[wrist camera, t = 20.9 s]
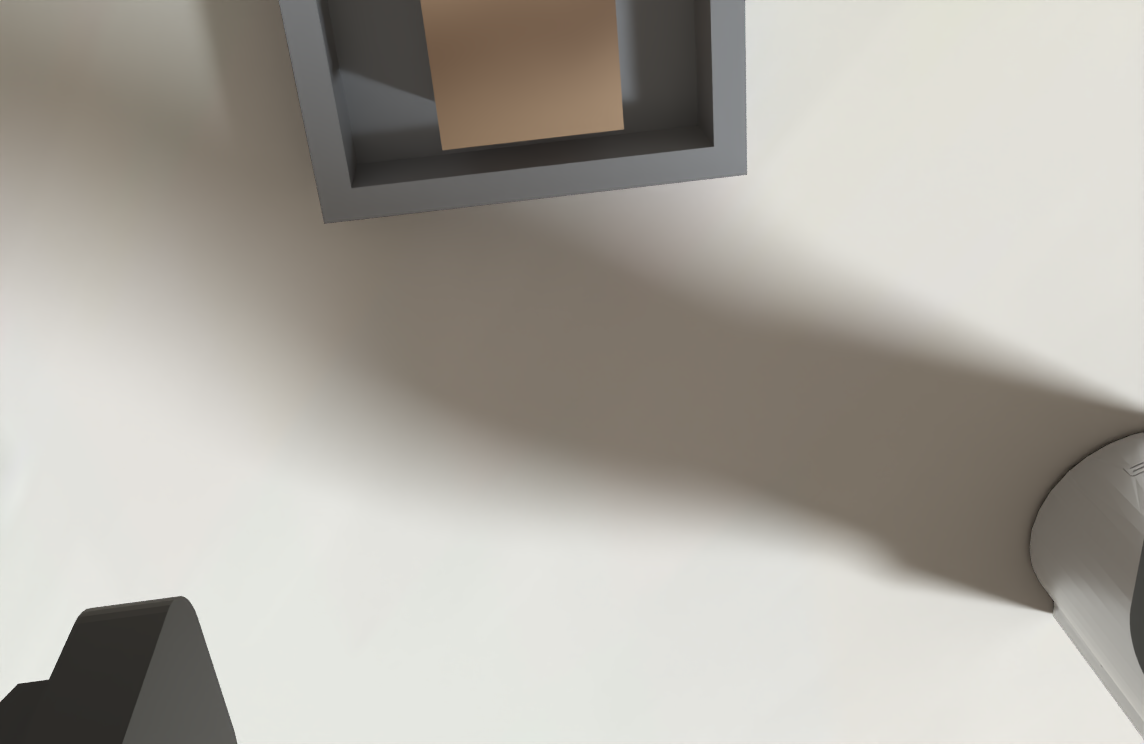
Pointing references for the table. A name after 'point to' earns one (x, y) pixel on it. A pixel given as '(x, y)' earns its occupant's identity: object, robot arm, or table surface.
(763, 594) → the table surface
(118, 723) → the robot arm
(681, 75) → the collection tray
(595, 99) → the walnut cube
